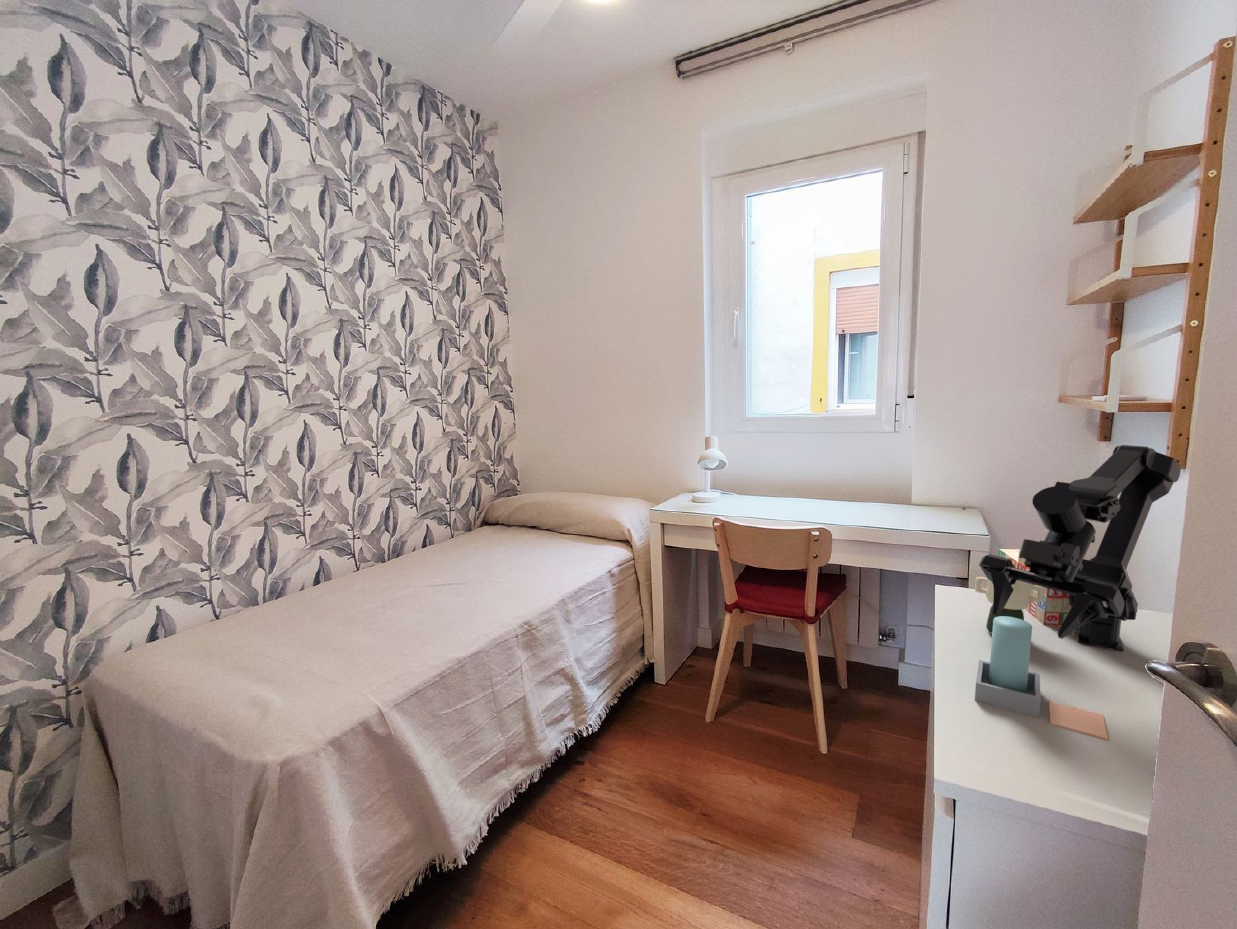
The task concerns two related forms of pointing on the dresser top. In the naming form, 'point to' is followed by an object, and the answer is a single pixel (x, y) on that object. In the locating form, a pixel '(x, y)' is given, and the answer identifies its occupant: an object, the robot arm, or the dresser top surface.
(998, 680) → the teal post
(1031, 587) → the character mug
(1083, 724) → the terracotta coaster
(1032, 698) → the slate tray
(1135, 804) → the dresser top surface
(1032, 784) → the dresser top surface
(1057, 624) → the stack of blocks
